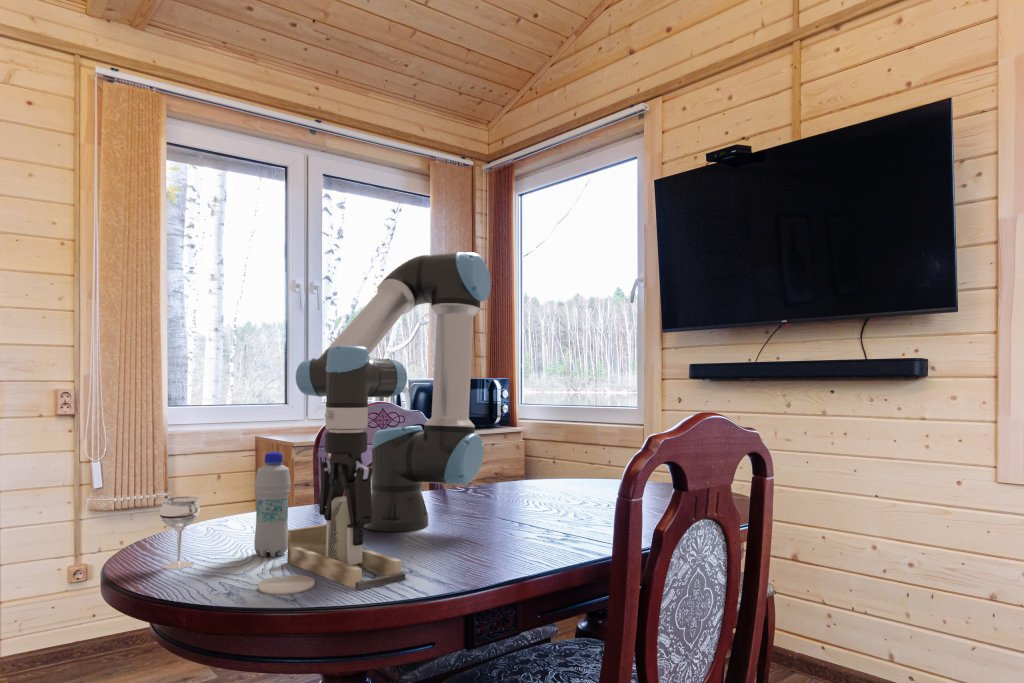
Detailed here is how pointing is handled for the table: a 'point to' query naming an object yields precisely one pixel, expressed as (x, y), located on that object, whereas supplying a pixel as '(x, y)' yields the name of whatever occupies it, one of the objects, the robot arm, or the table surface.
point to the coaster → (286, 584)
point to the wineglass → (179, 521)
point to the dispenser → (311, 556)
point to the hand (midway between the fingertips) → (343, 559)
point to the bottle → (272, 506)
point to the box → (339, 529)
